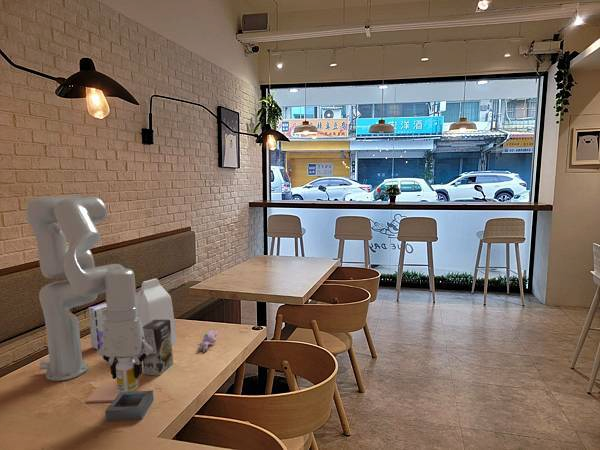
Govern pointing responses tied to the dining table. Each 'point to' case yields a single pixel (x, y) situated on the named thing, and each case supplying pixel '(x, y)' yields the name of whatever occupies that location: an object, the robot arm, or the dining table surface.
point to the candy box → (97, 324)
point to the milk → (155, 305)
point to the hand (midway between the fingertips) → (127, 375)
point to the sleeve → (129, 413)
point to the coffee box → (158, 347)
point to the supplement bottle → (126, 374)
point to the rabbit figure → (207, 341)
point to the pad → (104, 393)
